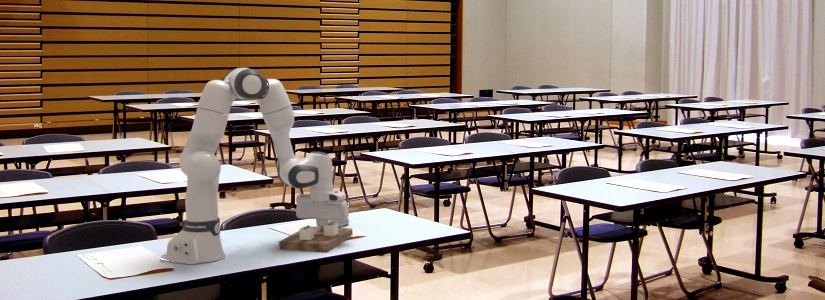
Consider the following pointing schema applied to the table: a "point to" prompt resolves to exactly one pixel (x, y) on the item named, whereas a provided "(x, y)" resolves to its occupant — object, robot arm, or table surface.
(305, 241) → the switch housing
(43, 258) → the table surface
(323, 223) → the switch back
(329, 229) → the switch middle
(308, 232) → the switch front
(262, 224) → the table surface
